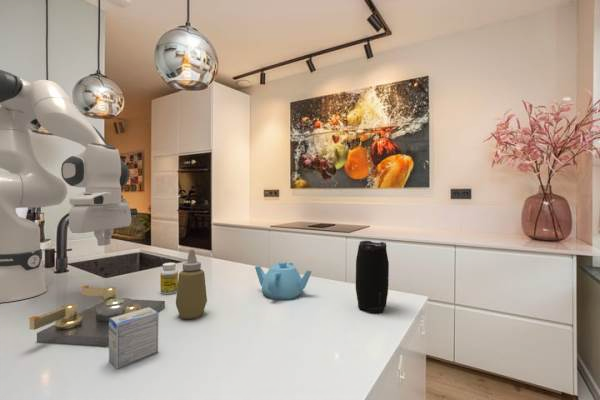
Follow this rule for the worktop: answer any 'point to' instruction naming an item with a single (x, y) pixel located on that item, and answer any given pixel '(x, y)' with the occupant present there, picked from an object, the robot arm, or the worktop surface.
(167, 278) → the supplement bottle
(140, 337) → the medicine box
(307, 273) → the teapot
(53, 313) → the lever
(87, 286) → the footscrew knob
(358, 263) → the portable speaker
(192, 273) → the squeeze bottle
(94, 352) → the worktop surface
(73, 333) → the levelling base
